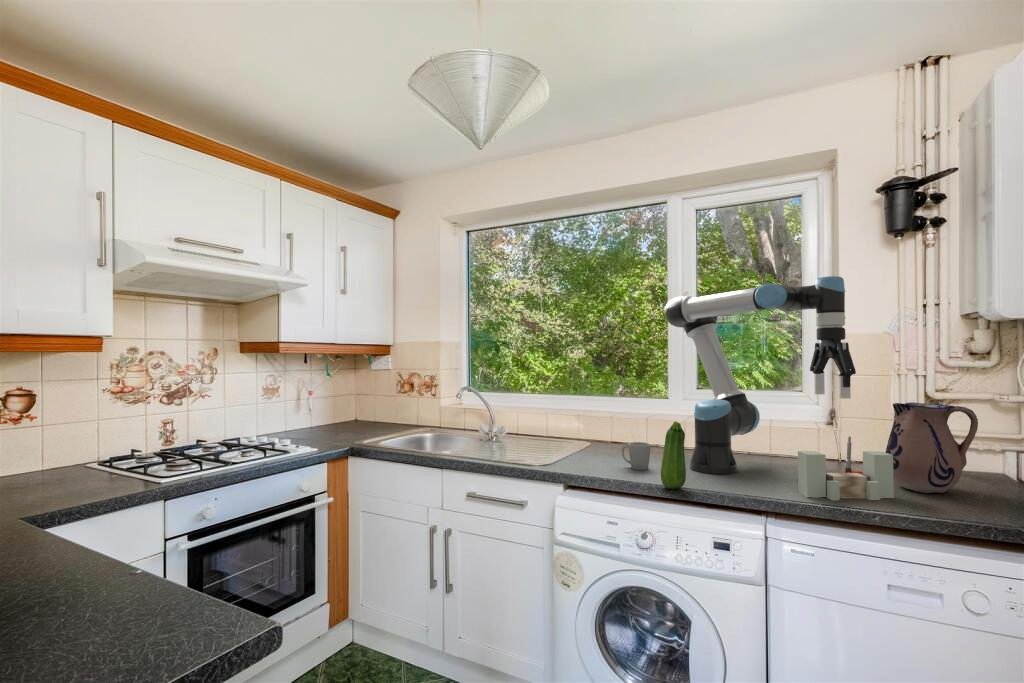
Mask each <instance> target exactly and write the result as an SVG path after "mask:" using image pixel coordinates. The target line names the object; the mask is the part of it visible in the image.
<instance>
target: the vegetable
mask: <svg viewBox="0 0 1024 683" xmlns="http://www.w3.org/2000/svg"><path fill="white" fill-rule="evenodd" d="M685 437H686V433H685V431H684V429H683V427H682V424H681V423H680V422H678V421H675V420H674V422H672V425H671V426H670V427H669V428H668V429H667V430H666V433H665V440H664V446H663V447H664V448H663V453H662V460H661V467H660V480H661V483H662V486H664V487H665V488H666V489H669V490H674V489H675V490H676V489H680V488H682V487H683V486H684V485H685V483H686V478H687V470H686V456H685V439H686V438H685Z"/></svg>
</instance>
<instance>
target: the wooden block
mask: <svg viewBox="0 0 1024 683" xmlns="http://www.w3.org/2000/svg"><path fill="white" fill-rule="evenodd" d="M827 481H838V482H839V486H840V497H853V498H852V499H867V492H866V481H870V476H867V475H865V474H862V473H844V472H826V497H827Z"/></svg>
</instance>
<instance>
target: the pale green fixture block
mask: <svg viewBox="0 0 1024 683" xmlns="http://www.w3.org/2000/svg"><path fill="white" fill-rule="evenodd" d="M862 472H863V474H865V475H867V476H870V481H866V492H867V498H866V500H867V499H869V500H868V501H870V500H881V499H880V498H894V496H895V495H894V491H895V490H894V488H895V487H894V480H893V455H891V454H888V453H886V452H884V451H875V450H873V451H872V450H871V451H869V450H868V451H867V450H866V451H865V450H863V451H862ZM894 499H895V498H894Z"/></svg>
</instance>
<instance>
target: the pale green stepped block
mask: <svg viewBox="0 0 1024 683" xmlns="http://www.w3.org/2000/svg"><path fill="white" fill-rule="evenodd" d="M826 463H827V462H826V454H825V453H822V452H820V451H816V450H797V480H798V481H797V483H798V484H797V487H798V488H797V491H798V492H799V493H800V495H801V494H802V495H801V496H803V495H804V496H803V497H805V496H806V497H805V498H807V497H826V499H827V498H828V499H827V500H829V499H832V500H831V501H840V500H841V498H840V486H839V482H838V481H827V496H826V473H827V471H826V470H827V469H826V467H827V466H826ZM798 492H797V493H798ZM799 493H798V494H799ZM834 499H835V500H834Z"/></svg>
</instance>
